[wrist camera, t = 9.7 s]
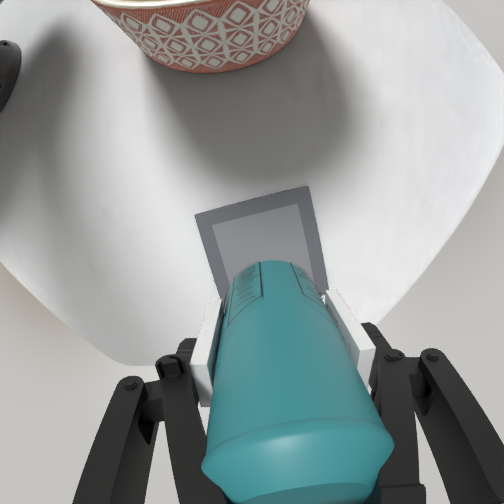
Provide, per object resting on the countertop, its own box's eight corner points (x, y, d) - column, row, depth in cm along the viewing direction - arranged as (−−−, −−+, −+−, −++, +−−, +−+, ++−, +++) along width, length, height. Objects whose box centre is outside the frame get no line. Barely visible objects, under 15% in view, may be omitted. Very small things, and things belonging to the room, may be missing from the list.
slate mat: (226, 314, 32) (226, 316, 31) (195, 214, 29) (194, 215, 28) (328, 290, 31) (329, 292, 31) (307, 185, 28) (308, 185, 27)
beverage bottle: (216, 262, 20) (109, 584, 1) (304, 239, 20) (491, 539, 1) (241, 336, 22) (226, 600, 3) (321, 316, 22) (416, 568, 2)
